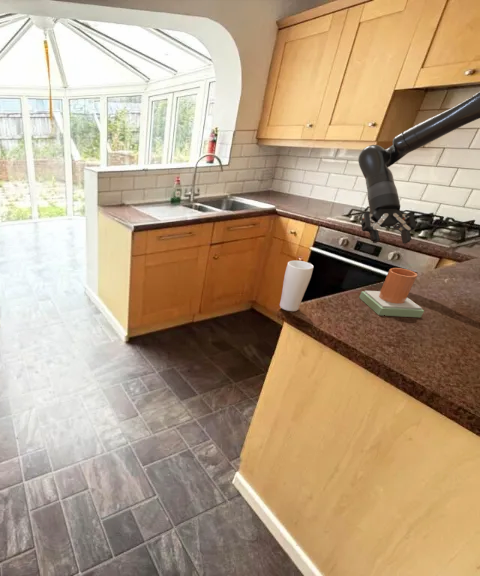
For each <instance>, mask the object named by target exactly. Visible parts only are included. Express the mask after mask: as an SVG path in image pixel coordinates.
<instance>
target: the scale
mask: <svg viewBox="0 0 480 576" xmlns="http://www.w3.org/2000/svg"><path fill="white" fill-rule="evenodd" d="M380 291H381V290H364V291H360V294H359V297H358V298H359V300H361V301H362V302H363V303H364V304H366V305H367V306H368V308H370V310H372V311H373V312H375V313H376V314H377V315H378V316H384V315H385V316H386V317H400V318H401V317H403V318H404V317H405V318H422V317H423V314H424V312H425V310H424V309H423V308H422V306H421V305H418V304H417V303H415V302H414V301H413V300H412V299H410V298H409V297H407V299H406V300H405V302H404V303H401V304H397V303H391V302H387V301H385V300H383V299H381V298H380V297H379V293H380Z"/></svg>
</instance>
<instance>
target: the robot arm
mask: <svg viewBox="0 0 480 576" xmlns="http://www.w3.org/2000/svg"><path fill="white" fill-rule="evenodd" d="M476 120H480V91H478V92H477V93H475V94H474V95H472V96H471V97H469V98H467V99H465V100H464V101H462V102H460V103H458V104H456V105H455V106H453V107H451V108H449V109H447V110H445V111H442V112H440V113H438V114H436V115H434V116H431V117H429V118H427V119H425V120H423V121H421V122H419V123H416V125H414V126H412V127H410V128H408V129H406V130H404V131H402V132H400V133H398V134H397V135H395V136H394V137H393V138H392V145H391V146H389V147H388V148H386V149H385V148H384V147H383V146H381V145H378V144H369V145H367V146H365V147H364V148H363V149H362V150H361V151H360V153H359V155H358V159H357V160H358V162H357V163H358V166H359V168H360V171H361V174H362V175H363V177H364V179H365V186H366V190H367V192H366V193H367V194H366V195H367V202H368V208H369V212H368V211H366V212H364V213H363V214H362V215H361V216H360V224H361V231H362V232H368V233H369V237H370V241H371V242H372V243H373V244H377V243H379V242H380V240H381V239H380V234H379V230H378V229H379V228H380V227H381V228H385V227H388V228H393V229H394V230H397V231H399V232H400V237H401V242H402V244H405V245H406V244H408V243H410V242H411V240H412V234H411V232H413V231H414V230H415V229H417V227H418V226H417V223H416V219H415V216H414V213H413V212H412V211H408V212H407V213H402V212H401V202H400V198H399V193H398V189H397V185H396V184H395V180H394V175H393V172H392V170H391V168H389V167H392V166H393V165H394V164H396V163H397V162H398V161H400V160H402V159H403V158H404V157H405V156H406V155H408V154H409V153H411V152H414V151H416V150H418V149H420V148H422V147H425V146H426V145H428V144H429V143H432V142H433V141H436V140H438V139H439V138H442V137H443V136H445V135H448V134H449V133H451V132H453V131H455V130H457V129H459V128H462V127H463V126H466V125H467V124H470V123H473V122H475V121H476ZM371 220H372V221H373V224H371ZM398 223H399V224H398Z"/></svg>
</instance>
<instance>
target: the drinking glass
mask: <svg viewBox="0 0 480 576" xmlns="http://www.w3.org/2000/svg"><path fill="white" fill-rule="evenodd" d="M313 271H314V265H313V264H312V263H311V262H307V261H304V260H289V261H287V265H286V267H285V272H284V277H283V282H282V290H281V296H280V302H279V307H280V309H282V310H284V311H286V312H297V311H298V310H299V309H300V305H301V303H302V300H303V298H304V296H305V293H306V291H307V288H308V286H309V284H310V281H311V279H312V275H313Z"/></svg>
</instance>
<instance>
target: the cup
mask: <svg viewBox="0 0 480 576" xmlns="http://www.w3.org/2000/svg"><path fill="white" fill-rule="evenodd" d="M417 277H418V273H417V272H415V271H413V270H410V269H406V268H401V267H392V268H390V269H389V270H388V272H387V274H386V277H385V279H384V281H383V284H382V286H381V289H380V290H379V291H380V293H379V297H380V298H381V299H383V300H385V301H387V302H391V303H397V304H401V303H404V302H405V300H406V299H407V298H409V295H410V292H411V291H412V288H413V286H414V284H415V281H416V280H417Z"/></svg>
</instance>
